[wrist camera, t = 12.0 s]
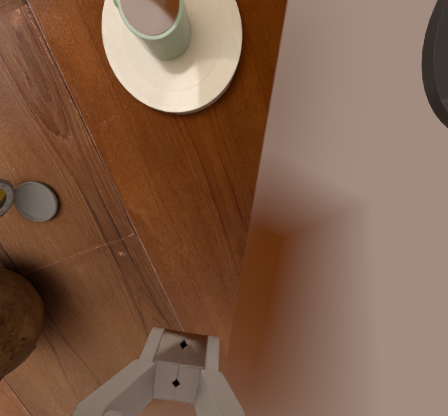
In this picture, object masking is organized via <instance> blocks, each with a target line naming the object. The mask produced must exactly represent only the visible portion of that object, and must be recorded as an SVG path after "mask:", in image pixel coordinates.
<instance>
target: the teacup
mask: <svg viewBox="0 0 448 416" xmlns="http://www.w3.org/2000/svg"><path fill="white" fill-rule="evenodd" d="M113 1H114V4H115V6H116V7H117V8H118V10H119V13H120V16H121V18H122V20H123V22H124V23H125V25H126V26H127V27H128V29H129V30H130V31H131V32H132V34H133V35H134V36H135V37H136V38H137V40H138V41H139V42H140V43H141V45H142V46H143V47H144V48H145V50H146V51H147V52H148V53H149V54H150V55H152V56H153V57H155V58H157V59H160V60H165V61H168V60H173V59H176V58H178V57H179V56H181V55H182V54H183V53H184V52H185V51H186V49H187V47H188V45H189V43H190V40H191V23H190V19H189V16H188V12H187V8H186V5H185V1H184V0H113Z"/></svg>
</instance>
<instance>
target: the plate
mask: <svg viewBox="0 0 448 416" xmlns="http://www.w3.org/2000/svg"><path fill="white" fill-rule="evenodd" d="M184 1H185V5H186V8H187V12H188V16H189V19H190V23H191V40H190V43H189V45H188V47H187V49H186V51H185V52H184V53H183V54H182V55H181V56H179V57H178V58H176V59H173V60H168V61H165V60H160V59H157V58H155V57H153V56H152V55H150V54H149V53H148V52H147V51H146V50H145V48H144V47H143V46H142V45H141V43H140V42H139V41H138V40H137V38H136V37H135V36H134V35H133V34H132V32H131V31H130V30H129V29H128V27H127V26H126V25H125V23H124V22H123V20H122V18H121V16H120V13H119V10H118V8H117V7H116V6H115V4H114V1H113V0H105V3H104V8H103V13H102V37H103V44H104V48H105V52H106V55H107V58H108V61H109V63H110V66H111V68H112V69H113V71H114V73H115V75H116V76H117V78H118V80H119V81H120V82H121V84H122V85H123V86H124V87H125V88H126V90H127V91H128V92H130V93H131V94H132V95H133V96H134V97H135V98H137V99H138V100H139V101H141V102H142V103H144V104H146V105H148V106H150V107H151V108H153V109H156V110H158V111H161V112H164V113H168V114H175V115H183V114H190V113H195V112H198V111H201V110H203V109H205V108H207V107H208V106H210V105H211V104H213V103H214V102H215V101H217V100H218V99H219V98H220V97H221V96H222V95H223V93H224V92H225V91H226V90H227V88H228V87H229V85H230V84H231V82H232V80H233V78H234V76H235V73H236V70H237V67H238V63H239V59H240V53H241V46H242V25H241V18H240V13H239V9H238V6H237V3H236V0H184Z"/></svg>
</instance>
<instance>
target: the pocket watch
mask: <svg viewBox="0 0 448 416" xmlns="http://www.w3.org/2000/svg"><path fill="white" fill-rule="evenodd" d="M13 202H15V205H16V207H17V209H18V210H19V212H20V213H21V214H22V215H23V216H25V217H26V218H28V219H30V220H32V221H36V222H43V221H47V220H49V219H51V218H52V217H53V216H54V215H55V214H56V212H57V209H58V202H57V198H56V196H55V194H54V193H53V191H52V190H51V189H50V188H49V187H47V186H46V185H44V184H42V183H39V182H26V183H23V184H21V185H20V186H19V187H18V188H17V189H16V190H15V189H14V187H13V185H12V184H11V183H10V182H9V181H7V180H4V179H1V178H0V217H2V216H3V215H4V214H5V213H6V212H7V211H8V210H9V209H10V207H11V206H12V204H13Z"/></svg>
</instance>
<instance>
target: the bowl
mask: <svg viewBox="0 0 448 416" xmlns="http://www.w3.org/2000/svg"><path fill="white" fill-rule="evenodd" d="M43 319H44V304H43V301H42V299H41V297H40V296H39V294H38V292H37V291H36V290H35V288H34V287H33V286H32V284H31V283H30V282H29V281H28V280H27V279H25V278H24V277H22V276H21V275H19V274H17V273H15V272H12V271H10V270H8V269H5V268H3V267H0V381H1V380H2V378H3V377H4V376H5V375H7V374H8V373H10V372H11V371H13V370H14V369H15V368H17V367H18V366H19V365H20V364H22V363H23V362H24V361H25V360H26V359H27V358H28V356H29V355H30V354H31V353H32V351H33V350H34V349H35V348H36V344H37V341H38V339H39V337H40V334H41V331H42V328H43Z"/></svg>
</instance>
